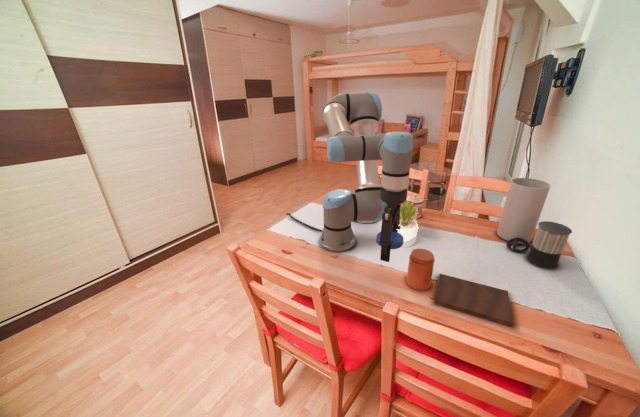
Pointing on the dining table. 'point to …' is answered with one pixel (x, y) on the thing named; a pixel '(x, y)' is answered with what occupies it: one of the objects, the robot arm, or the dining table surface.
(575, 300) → the dining table surface
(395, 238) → the jar lid
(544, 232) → the milk frother
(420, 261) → the jar
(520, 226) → the cylinder vase
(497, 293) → the board
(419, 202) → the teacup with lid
